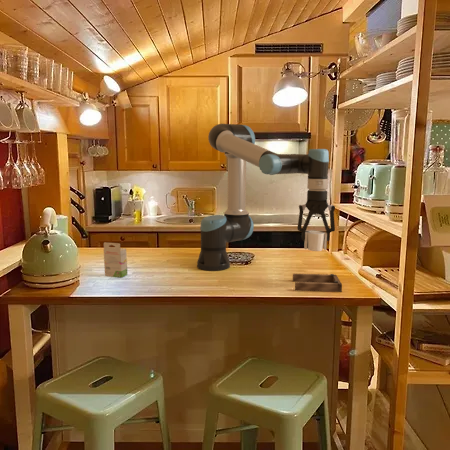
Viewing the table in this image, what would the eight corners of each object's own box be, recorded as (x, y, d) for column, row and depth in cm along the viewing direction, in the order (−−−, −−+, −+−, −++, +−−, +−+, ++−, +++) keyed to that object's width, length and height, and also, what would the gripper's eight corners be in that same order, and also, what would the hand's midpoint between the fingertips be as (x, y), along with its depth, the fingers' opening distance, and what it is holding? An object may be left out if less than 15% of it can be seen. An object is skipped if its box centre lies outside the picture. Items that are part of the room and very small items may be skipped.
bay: (295, 290, 163) (295, 281, 162) (292, 280, 176) (292, 272, 175) (341, 291, 161) (342, 282, 161) (335, 281, 174) (336, 273, 174)
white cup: (304, 247, 169) (304, 230, 168) (321, 247, 170) (321, 230, 168) (308, 251, 162) (309, 233, 161) (326, 251, 163) (327, 233, 162)
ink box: (128, 274, 183) (126, 241, 181) (121, 278, 179) (120, 243, 176) (110, 272, 186) (109, 239, 184) (104, 276, 181) (102, 242, 179)
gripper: (291, 190, 159) (290, 250, 163) (345, 191, 158) (342, 251, 161) (290, 188, 167) (289, 246, 170) (341, 189, 165) (339, 247, 169)
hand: (315, 248), depth 166 cm, fingers closed on white cup, 7 cm apart
